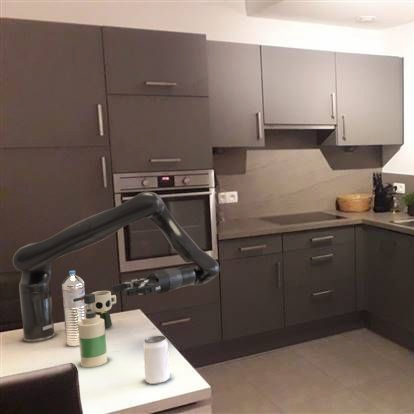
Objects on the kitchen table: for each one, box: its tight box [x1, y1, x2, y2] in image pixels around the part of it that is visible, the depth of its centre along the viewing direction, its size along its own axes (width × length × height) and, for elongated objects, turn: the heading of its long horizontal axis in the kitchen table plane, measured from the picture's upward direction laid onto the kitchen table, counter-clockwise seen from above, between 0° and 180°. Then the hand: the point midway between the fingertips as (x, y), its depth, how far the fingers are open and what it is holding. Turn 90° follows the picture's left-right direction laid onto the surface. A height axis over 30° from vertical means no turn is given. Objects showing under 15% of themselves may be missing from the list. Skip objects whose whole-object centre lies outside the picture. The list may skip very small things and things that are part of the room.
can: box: [142, 335, 171, 385], centre depth 155 cm, size 6×6×12 cm
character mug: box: [86, 290, 117, 328], centre depth 200 cm, size 11×7×13 cm, turn 134°
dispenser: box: [78, 310, 108, 368], centre depth 167 cm, size 7×7×16 cm
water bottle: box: [61, 270, 88, 347], centre depth 184 cm, size 7×7×25 cm
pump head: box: [73, 293, 95, 308], centre depth 165 cm, size 6×3×4 cm, turn 142°
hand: (119, 291), depth 173 cm, fingers open, 8 cm apart
